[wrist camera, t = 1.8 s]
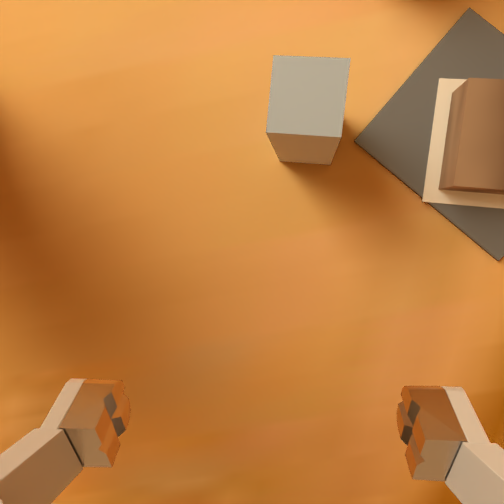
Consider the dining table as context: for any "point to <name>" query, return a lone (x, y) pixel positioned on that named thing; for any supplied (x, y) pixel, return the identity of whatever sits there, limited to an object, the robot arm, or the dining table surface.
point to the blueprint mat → (441, 128)
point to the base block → (475, 138)
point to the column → (307, 107)
